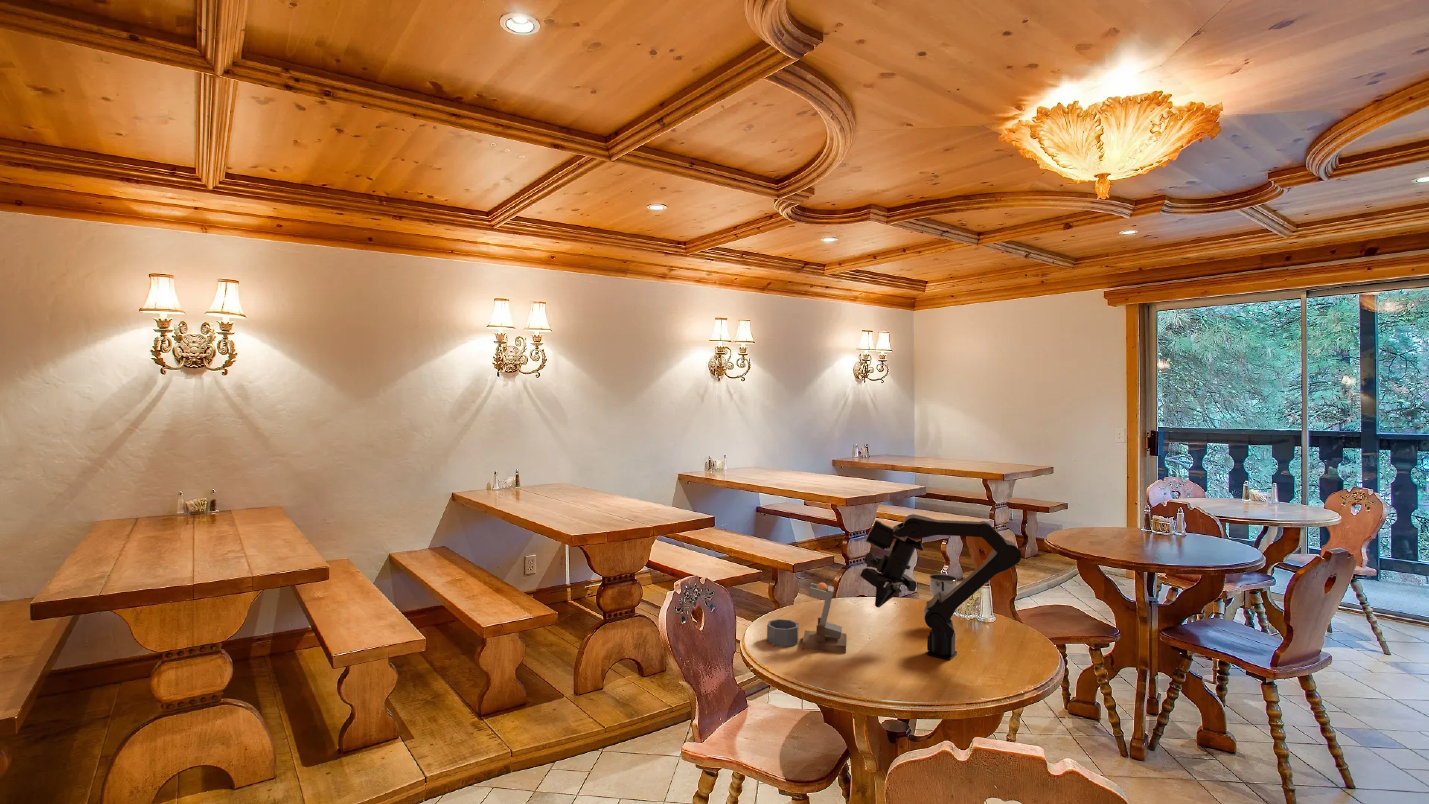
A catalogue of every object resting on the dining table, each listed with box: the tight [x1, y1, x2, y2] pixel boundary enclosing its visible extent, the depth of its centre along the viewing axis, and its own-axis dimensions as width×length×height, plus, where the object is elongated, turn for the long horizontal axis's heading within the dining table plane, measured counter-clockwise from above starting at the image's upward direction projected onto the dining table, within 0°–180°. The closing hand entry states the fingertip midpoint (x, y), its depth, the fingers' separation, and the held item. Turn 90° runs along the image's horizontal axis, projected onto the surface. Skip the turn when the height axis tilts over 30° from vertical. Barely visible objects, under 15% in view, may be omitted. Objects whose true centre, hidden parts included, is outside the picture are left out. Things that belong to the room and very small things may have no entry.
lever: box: [807, 582, 843, 639], centre depth 203 cm, size 11×6×13 cm, turn 79°
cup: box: [766, 618, 800, 648], centre depth 206 cm, size 9×9×5 cm
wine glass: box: [929, 573, 958, 628], centre depth 221 cm, size 8×8×15 cm
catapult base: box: [801, 617, 848, 654], centre depth 203 cm, size 12×10×6 cm
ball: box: [816, 582, 828, 592], centre depth 203 cm, size 3×3×3 cm
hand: (876, 606), depth 201 cm, fingers closed
